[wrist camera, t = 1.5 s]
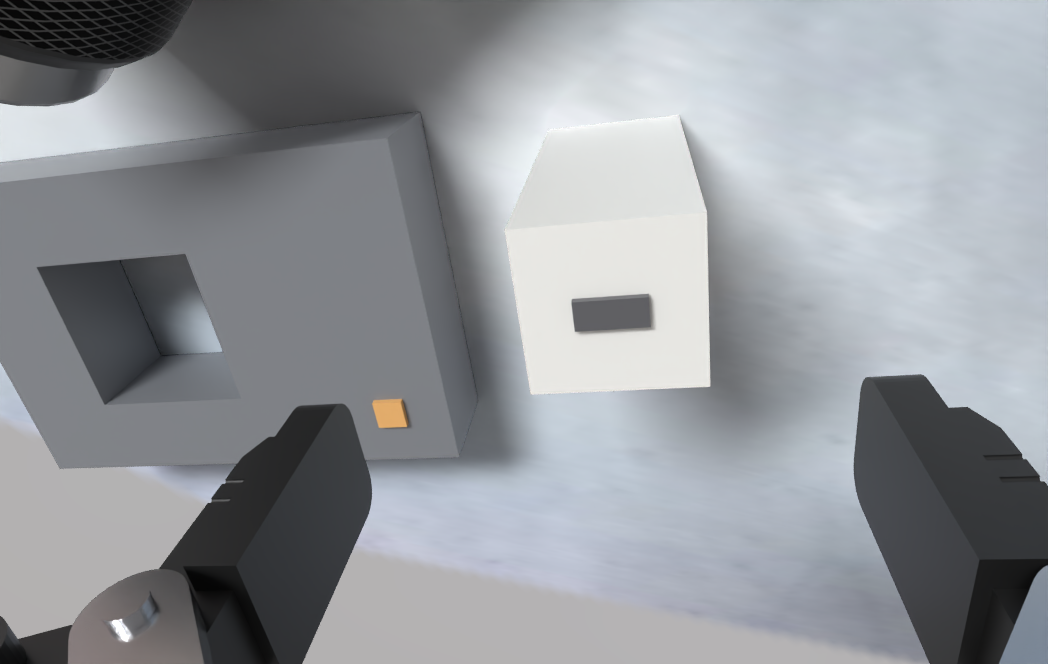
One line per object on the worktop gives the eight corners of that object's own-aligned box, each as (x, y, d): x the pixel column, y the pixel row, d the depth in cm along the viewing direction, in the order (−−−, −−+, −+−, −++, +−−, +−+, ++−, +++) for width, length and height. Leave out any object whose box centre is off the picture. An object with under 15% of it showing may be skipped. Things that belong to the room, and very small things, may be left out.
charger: (678, 115, 21) (707, 214, 13) (683, 238, 23) (711, 391, 15) (548, 129, 22) (503, 233, 14) (563, 248, 24) (529, 398, 16)
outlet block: (419, 111, 22) (384, 139, 19) (478, 400, 27) (458, 461, 24) (-7, 163, 25) (-100, 195, 22) (117, 416, 30) (56, 471, 27)
